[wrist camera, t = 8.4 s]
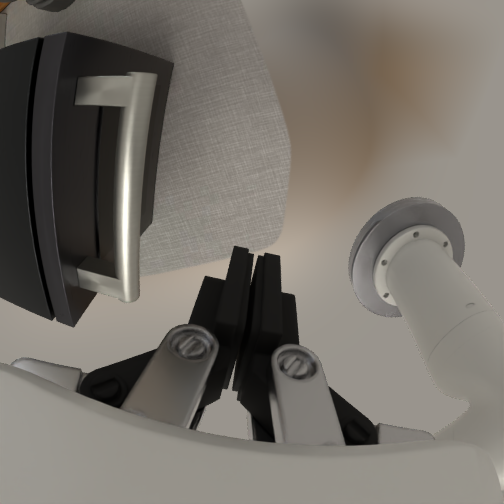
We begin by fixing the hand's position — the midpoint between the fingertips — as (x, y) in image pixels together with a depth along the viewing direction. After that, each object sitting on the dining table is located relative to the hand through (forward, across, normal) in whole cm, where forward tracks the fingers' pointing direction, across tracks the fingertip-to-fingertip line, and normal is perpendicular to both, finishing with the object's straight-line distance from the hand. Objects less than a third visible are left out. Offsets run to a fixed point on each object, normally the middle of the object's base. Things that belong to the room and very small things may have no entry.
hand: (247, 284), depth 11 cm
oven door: (+20, +10, 0) cm, 22 cm away
